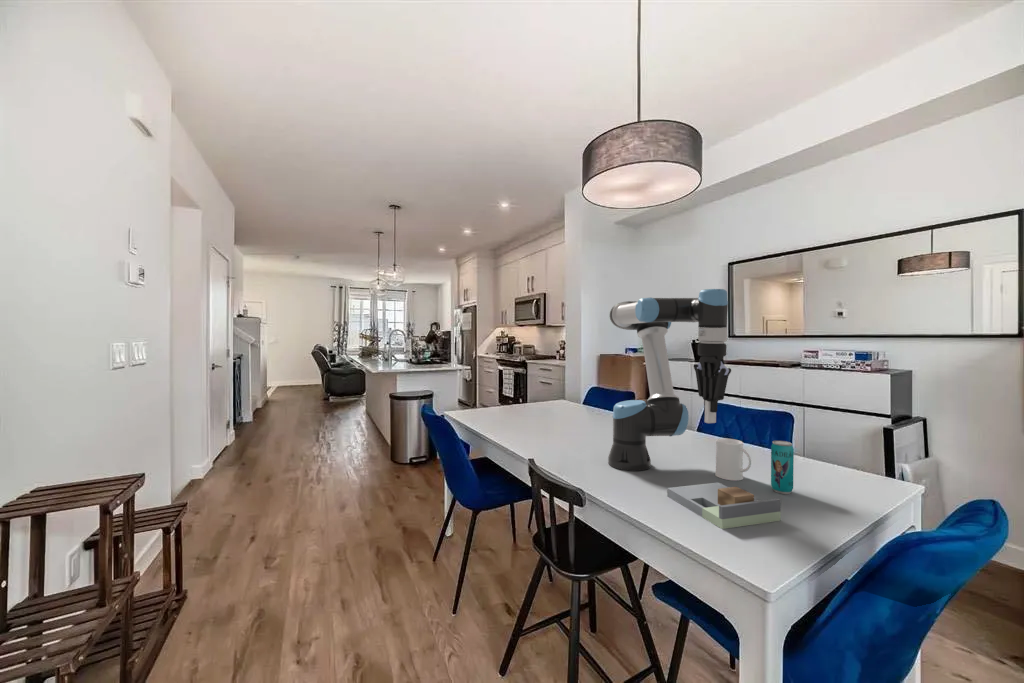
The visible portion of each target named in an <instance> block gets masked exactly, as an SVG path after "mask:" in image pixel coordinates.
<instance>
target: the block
mask: <svg viewBox="0 0 1024 683" xmlns="http://www.w3.org/2000/svg"><path fill="white" fill-rule="evenodd" d="M754 499H755V495H754V494H753V493H751V492H749V491H747V490H744V489H743V488H740V487H738V486H732V487H731V486H730V487H729V488H720V489H718V504H719V505H729V504H737V503H745V502H752V501H754Z"/></svg>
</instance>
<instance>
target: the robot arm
mask: <svg viewBox="0 0 1024 683" xmlns="http://www.w3.org/2000/svg"><path fill="white" fill-rule="evenodd" d="M728 307H729V301H728V291H727V290H726V289H723V288H707V289H701V290H700V291H699V294H698V297H669V298H668V297H642V298H639V299H638V300H637V301H636V300H634V301H632V300H631V301H630V300H628V301H621V302H617V303H616V304H614V305H613V306H612V307H611V309H610V311H609V319H610V322H611V323H612V324H613V326H615V327H616V328H619V329H621V330H625V331H626V330H627V331H636V333H637V334H636V335H637V337H639V338H640V339H641V340H642V348H643V355H644V362H645V369H646V376H647V383H648V390H649V397H648V399H647V400H646V401H645V400H642V399H630V400H623V401H619V402H617V403H615V404H614V405H613V409H612V410H613V412H612V445H611V448H610V451H609V453H608V458H607V463H608V465H609V466H610V467H612V468H615V469H618V470H623V471H633V472H635V471H645V470H648V469H650V468H651V467H652V465H651V463H652V462H651V461H652V460H651V458H650V457H651V456H650V454H649V451H648V448H647V443H646V442H647V441H646V438H647V437H674V436H677V437H678V436H681V435H683V434H684V433H685V432H686V430H687V429H688V425H689V416H690V415H689V410H688V408H687V406H686V405H685V404H684V403H682V402H680V398H679V397H678V396H677V395H676V394H675V392H674V387H673V386H674V385H673V381H672V373H671V370H670V362H669V355H668V350H667V344H666V338H665V335H666V334H667V333H668V330H669V329H670V327H671V326H672V323H698V330H697V331H698V337H697V339H698V340H697V341H699V343H698V344H697V355H698V356H700V359H699V362H698V363H696V364H695V363H694V364H693V369H694V371H695V378H696V385H697V391H698V396H699V397H702V399H703V411H704V424H705V423H706V424H715V423H717V412H718V402H719V401H723V400H724V398H725V394H726V389H727V385H728V384H727V383H728V380H729V376H730V374H731V373H732V368H730V367H727V366H726V365H725V360H724V357H726V356H727V343H725V342H727V340H728V338H727V337H728V327H727V326H728V310H729V309H728Z"/></svg>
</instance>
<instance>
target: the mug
mask: <svg viewBox="0 0 1024 683" xmlns="http://www.w3.org/2000/svg"><path fill="white" fill-rule="evenodd" d="M743 447H744V443H743V441H742V440H738V439H734V438H726V437H723V438H715V473H714V475H715V477H717V478H719V479H723V480H726V481H737V482H738V481H742V480H744V473H745V472H747V471H749V470H750V468H751V465H752V458H751V456H750V454H749V452H748V451H747V450H746V449H745V448H743ZM744 454H745V455H746V457H747V459H748V466H747V467H746V468H744V467H743V465H744V462H743V461H744V459H743V458H744V457H743V456H744Z"/></svg>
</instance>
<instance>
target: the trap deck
mask: <svg viewBox="0 0 1024 683" xmlns="http://www.w3.org/2000/svg"><path fill="white" fill-rule="evenodd" d="M720 488H729V487H728V486H727V485H724V484H723V483H721V482H710V483H702V484H700V483H699V484H691V485H690V484H689V485H685V486H683V485H681V486H674V487H673V486H671V487H667V488H666V490H667V491H666V496H667V497H668V498H669V499H671V500H673V501H675V502H677V503H678V504H680V505H681V506H683V507H684V508H686V509H688V510H689V511H691V512H693V513H694V514H695V515H697V516H700V517H701V518H702V519H705V520H706V521H708V522H709V523H711V524H713V525H715V526H716V527H717V528H719V529H721V530H723V529H724V530H725V529H731V528H738V527H746V526H752V525H760V524H766V523H773V522H781V513H782V512H781V508H782V507H781V504H782V502H781V501H782V500H781V499H779V498H770V499H761V500H757V499H755V498H754V501H752V502H745V503H737V504H729V505H719V504H718V489H720Z"/></svg>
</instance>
